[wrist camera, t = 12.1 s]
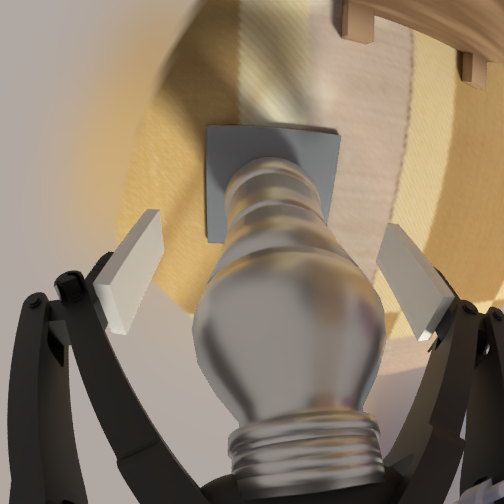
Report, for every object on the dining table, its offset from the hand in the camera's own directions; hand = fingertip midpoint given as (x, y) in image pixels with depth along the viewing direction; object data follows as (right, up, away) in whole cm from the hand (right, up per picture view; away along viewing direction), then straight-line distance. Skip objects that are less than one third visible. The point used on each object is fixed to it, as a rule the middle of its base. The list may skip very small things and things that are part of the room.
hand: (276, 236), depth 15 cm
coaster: (0, +4, +7) cm, 8 cm away
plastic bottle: (0, +4, +6) cm, 7 cm away
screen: (+12, +18, -2) cm, 22 cm away
